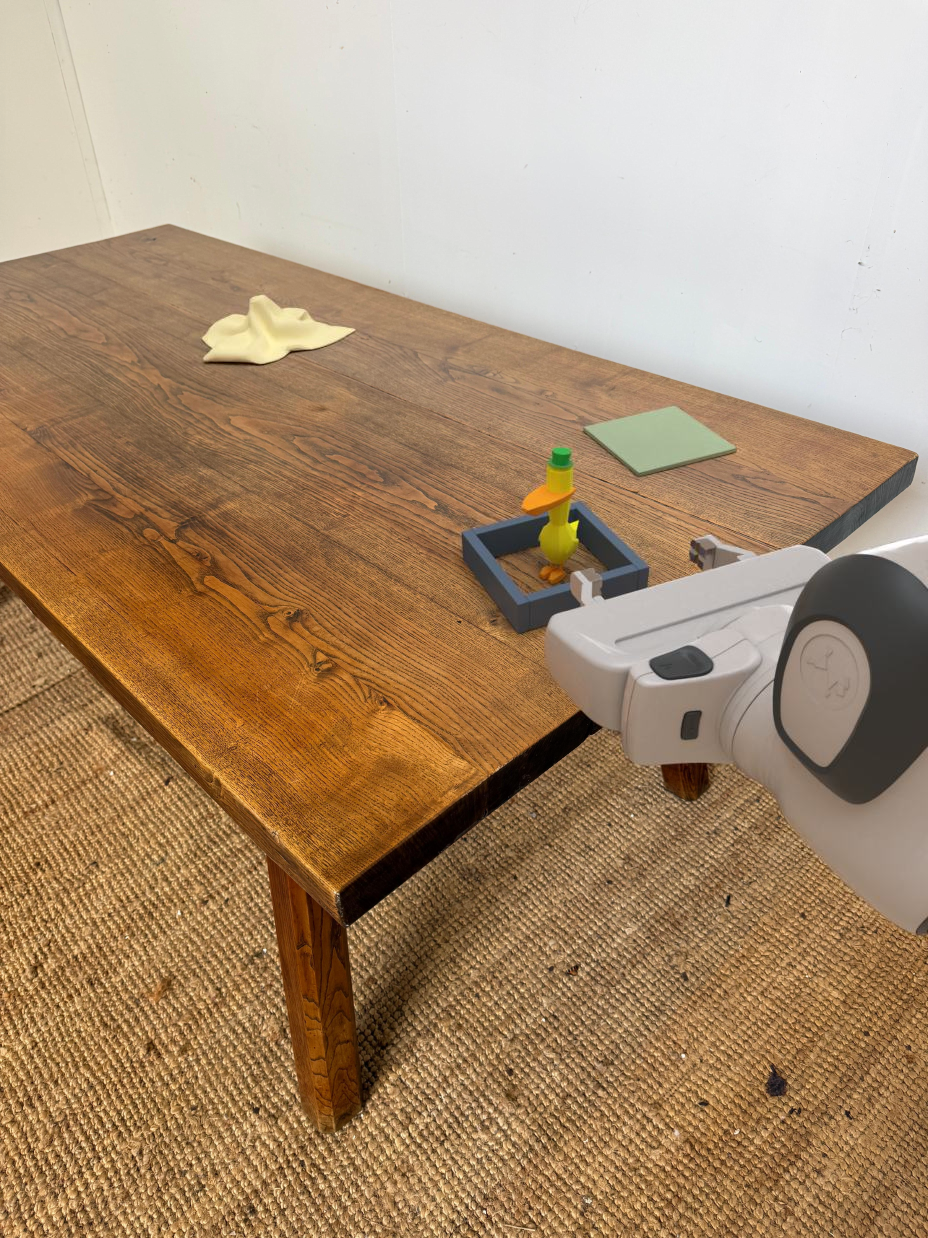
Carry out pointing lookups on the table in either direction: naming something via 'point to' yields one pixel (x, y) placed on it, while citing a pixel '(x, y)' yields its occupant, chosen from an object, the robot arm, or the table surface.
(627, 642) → the robot arm
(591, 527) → the open square frame
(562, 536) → the toy figure
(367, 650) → the table surface
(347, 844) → the table surface
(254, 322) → the cloth
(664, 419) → the felt mat
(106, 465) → the table surface
